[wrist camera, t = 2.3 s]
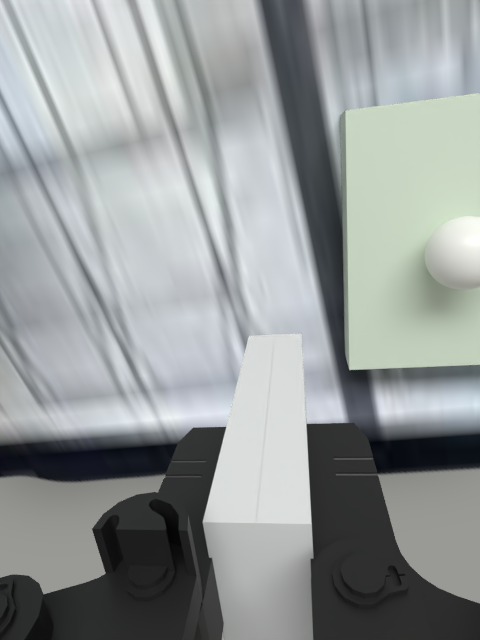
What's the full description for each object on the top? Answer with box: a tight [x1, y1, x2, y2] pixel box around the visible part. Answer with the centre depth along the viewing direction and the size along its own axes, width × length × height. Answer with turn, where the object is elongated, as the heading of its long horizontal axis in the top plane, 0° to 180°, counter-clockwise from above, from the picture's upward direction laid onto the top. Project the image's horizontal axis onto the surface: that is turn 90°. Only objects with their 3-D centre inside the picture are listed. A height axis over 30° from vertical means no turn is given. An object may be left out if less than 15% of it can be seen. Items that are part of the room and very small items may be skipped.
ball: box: [425, 216, 480, 290], centre depth 22 cm, size 4×4×4 cm
